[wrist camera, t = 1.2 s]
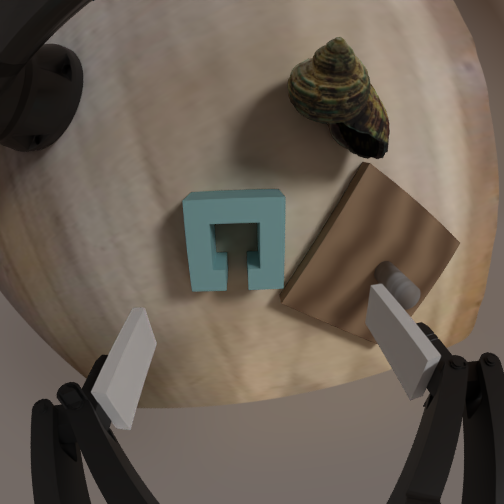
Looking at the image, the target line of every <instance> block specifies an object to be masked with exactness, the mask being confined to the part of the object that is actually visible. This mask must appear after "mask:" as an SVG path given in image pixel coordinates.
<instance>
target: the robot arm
mask: <svg viewBox="0 0 504 504" xmlns="http://www.w3.org/2000/svg"><path fill="white" fill-rule="evenodd" d="M91 1H94V0H0V144H1V145H4V146H6V147H9V148H12V149H14V150H17V151H22V152H28V151H35V150H40V149H43V148H45V147H47V146H49V145H51V144H52V143H53V142H55V141H56V140H57V139H58V138H59V137H60V136H61V135H62V134H63V132H64V131H65V130H66V128H67V127H68V125H69V124H70V122H71V120H72V119H73V117H74V115H75V112H76V110H77V108H78V105H79V102H80V98H81V94H82V88H83V70H82V66H81V63H80V60H79V58H78V57H77V55H76V54H75V53H74V52H73V51H72V50H70V49H68V48H66V47H63V46H61V45H58V44H44V43H45V42H46V41H47V40H48V39H49V38H50V37H51V36H52V35H53V34H54V33H55V32H56V31H57V30H58V29H59V28H61V27H62V26H63V25H64V24H65V23H66V22H67V21H68V20H69V19H70V18H72V17H73V16H74V15H75V14H76V13H77V12H79V11H80V10H81V9H82V8H83V7H85V6H86V5H87V4H88V3H90V2H91ZM365 324H366V325H367V327H368V329H369V330H370V332H371V333H372V335H373V337H374V338H375V340H376V342H377V343H378V345H379V347H380V348H381V350H382V352H383V353H384V355H385V357H386V358H387V360H388V362H389V364H390V365H391V367H392V369H393V371H394V372H395V374H396V376H397V377H398V379H399V381H400V383H401V385H402V386H403V388H404V390H405V392H406V393H407V395H408V397H409V399H410V400H413V399H415V398H418V397H421V396H423V394H424V392H425V390H426V388H427V389H428V391H429V392H430V394H429V396H428V398H427V400H426V402H425V403H424V405H423V407H425V409H424V413H423V416H422V419H421V422H420V425H419V428H418V431H417V434H416V437H415V440H414V443H413V445H412V448H411V451H410V453H409V456H408V458H407V461H406V463H405V466H404V468H403V471H402V473H401V475H400V477H399V479H398V482H397V484H396V486H395V488H394V490H393V492H392V494H391V496H390V498H389V500H388V502H387V504H441V503H440V498H441V495H442V492H443V490H444V487H445V484H446V481H447V478H448V475H449V472H450V468H451V465H452V461H453V458H454V454H455V450H456V446H457V442H458V437H459V432H460V427H461V422H462V417H463V431H464V482H463V494H462V504H504V372H503V368H502V365H501V362H500V360H499V358H498V357H497V356H496V355H495V354H492V353H488V352H487V353H484V354H482V355H481V357H480V359H479V361H472V362H467V361H466V360H465V359H464V358H463V357H461V356H457V355H452V354H451V353H450V352H449V351H448V349H447V348H446V347H445V346H444V344H443V343H442V342H441V341H440V340H439V339H438V337H437V336H436V335H435V334H434V332H433V331H432V330H431V329H430V328H429V327H428V326H427V325H425V324H424V323H422V322H420V323H415V322H414V321H413V319H412V318H411V317H410V316H409V315H408V313H407V312H406V311H405V310H404V309H403V307H402V306H401V305H400V304H399V303H398V302H397V300H396V299H395V298H394V297H393V296H392V295H391V293H390V292H389V291H388V290H387V289H386V288H385V287H384V285H383V284H376V285H371V287H370V294H369V301H368V308H367V314H366V321H365ZM156 345H157V343H156V340H155V337H154V334H153V331H152V328H151V325H150V322H149V319H148V316H147V313H146V310H145V307H139V308H133V309H132V311H131V312H130V314H129V316H128V318H127V320H126V322H125V324H124V326H123V327H122V329H121V331H120V333H119V335H118V337H117V339H116V341H115V343H114V345H113V347H112V349H111V351H110V353H109V355H101V356H100V357H99V358H98V359H97V360H96V362H95V364H94V365H93V367H92V369H91V371H90V373H89V374H90V375H88V377H87V379H86V382H85V383H84V386H83V388H82V389H81V387H80V386H79V385H78V384H77V383H75V382H69V383H66V384H64V385H62V386H61V387H60V388H59V390H58V392H57V398H58V400H59V401H60V403H61V404H62V405H55V406H54V405H53V404H52V402H51V401H50V400H48V399H41V400H39V401H38V402H36V403H35V404H34V406H33V408H32V418H31V473H32V486H33V495H34V503H35V504H91V501H90V497H89V493H88V489H87V484H86V480H85V474H84V469H83V463H82V457H81V452H82V454H83V456H84V459H85V461H86V463H87V465H88V467H89V469H90V472H91V473H92V476H93V478H94V480H95V482H96V484H97V485H98V487H99V489H100V491H101V493H102V495H103V496H104V498H105V500H106V502H107V504H159V502H158V501H157V500H156V498H155V497H154V496H153V495H152V493H151V492H150V490H149V489H148V488H147V486H146V485H145V484H144V482H143V481H142V479H141V478H140V476H139V475H138V473H137V472H136V470H135V469H134V467H133V466H132V464H131V463H130V461H129V459H128V458H127V456H126V454H125V453H124V451H123V449H122V448H121V446H120V444H119V443H118V441H117V439H116V437H115V436H114V434H113V432H112V430H111V429H110V428H109V427H110V424H111V422H112V423H113V424H114V425H115V427H116V428H119V429H126V430H130V429H131V426H132V422H133V418H134V415H135V411H136V408H137V405H138V401H139V398H140V394H141V391H142V388H143V385H144V381H145V378H146V375H147V372H148V369H149V366H150V363H151V360H152V357H153V353H154V350H155V348H156ZM80 449H81V451H80Z"/></svg>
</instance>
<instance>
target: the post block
mask: <svg viewBox="0 0 504 504" xmlns="http://www.w3.org/2000/svg"><path fill="white" fill-rule="evenodd" d="M459 244H460V242H459V241H458V240H457V239H456V238H455V237H454V236H453V235H452V234H451V233H450V232H449V231H448V230H447V229H446V228H445V227H444V226H443V225H442V224H441V223H440V222H439V221H438V220H437V219H436V218H434V217H433V216H432V215H431V214H430V213H429V212H428V211H427V210H426V209H425V208H424V207H422V206H421V205H420V204H419V203H418V202H417V201H416V200H415V199H413V198H412V197H411V196H410V195H409V194H408V193H406V192H405V191H404V190H403V189H402V188H400V187H399V186H398V185H397V184H396V183H394V182H393V181H392V180H391V179H389V178H388V177H387V176H386V175H384V174H383V173H382V172H381V171H379V170H378V169H377V168H375V167H374V166H373V165H371V164H370V163H366V162H363V163H362V164H361V166H360V168H359V169H358V171H357V173H356V175H355V176H354V178H353V180H352V181H351V183H350V185H349V187H348V188H347V190H346V192H345V193H344V195H343V197H342V198H341V200H340V202H339V203H338V205H337V206H336V208H335V210H334V211H333V213H332V215H331V216H330V218H329V220H328V221H327V223H326V224H325V226H324V228H323V229H322V231H321V232H320V234H319V236H318V237H317V239H316V240H315V242H314V243H313V245H312V247H311V248H310V250H309V251H308V253H307V254H306V256H305V258H304V259H303V261H302V262H301V264H300V265H299V267H298V268H297V270H296V271H295V273H294V274H293V276H292V277H291V279H290V280H289V282H288V283H287V285H286V286H285V288H284V289H283V291H282V292H281V294H280V299H281V303H282V304H284V305H286V306H289V307H291V308H293V309H295V310H298V311H300V312H302V313H305V314H307V315H309V316H311V317H314V318H316V319H318V320H321V321H323V322H325V323H328V324H330V325H333V326H335V327H337V328H340V329H342V330H344V331H347V332H349V333H352V334H354V335H357V336H359V337H361V338H364V339H366V340H369V341H371V342H374V343H376V344H378V343H377V342H376V340H375V338H374V337H373V335H372V333H371V332H370V330H369V329H368V327H367V325H366V324H365V321H366V314H367V308H368V301H369V294H370V287H371V285H376V284H383V285H384V287H385V288H386V289H387V290H388V291H389V292H390V293H391V295H392V296H393V297H394V298H395V299H396V300H397V302H398V303H399V304H400V305H401V306H402V307H403V309H404V310H405V311H406V312H407V313H408V315H409V316H410V317H411V316H412V315H413V313H414V312H415V311H416V309H417V308H418V307H419V305H420V304H421V303H422V301H423V300H424V298H425V297H426V296H427V294H428V293H429V291H430V290H431V289H432V287H433V286H434V284H435V283H436V281H437V280H438V278H439V277H440V275H441V274H442V272H443V271H444V269H445V267H446V266H447V264H448V263H449V261H450V260H451V258H452V256H453V255H454V253H455V251H456V250H457V248H458V246H459Z"/></svg>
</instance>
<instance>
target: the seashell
mask: <svg viewBox="0 0 504 504" xmlns="http://www.w3.org/2000/svg"><path fill="white" fill-rule="evenodd" d="M288 90H289V98H290V101H291V103H292V104H293V105H294V107H295V109H296V110H297V111H298V112H299V113H300V114H301V115H303V116H305V117H307V118H309V119H311V120H313V121H315V122H320V123H328V125H329V128H330V132H331V135H332V137H333V138H334V139H335V140H336V141H337V142H338V143H339V145H341V146H343V147H345V148H347V149H348V150H349V151H350V152H352V153H353V154H357V155H358V156H360V157H363V158H367V159H368V158H370V157H373V158H376V159H379V158H383V157H384V155H385V153H386V152H388V139H389V120H388V116H387V113H386V110H385V108H384V106H383V104H382V101H381V100H380V99H379V96H378V95H377V93H376V91H375V89H374V88H373V86H372V85H371V84H370V79H369V76H368V71H367V69H366V67H365V66H364V65H363V64H362V62H361V61H360V60H359V59H358V58H357V57H356V56H355V54H354V52H353V50H352V49H351V47H350V46H349V45H348V44H347V43H346V41H345V40H344V39H343V38H341V37H336V38H335V39H332V40H330V41H329V42H328V43H327V44H326V45H325V46H323V47H321V48H319V49H318V50H317V51H316V52H315V55H314V56H313V58H310V59H307V60H305V61H303V62H302V63H299V64H297V65H296V66H295V67H294V68H293V70H292V72H291V75H290V78H289V80H288Z"/></svg>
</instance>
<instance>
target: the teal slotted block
mask: <svg viewBox="0 0 504 504" xmlns="http://www.w3.org/2000/svg"><path fill="white" fill-rule="evenodd" d="M182 202H183V214H184V225H185V235H186V245H187V254H188V263H189V271H190V279H191V287H192V291H227V279H228V260H227V252H217V253H216V241H215V225H214V224H229V223H257V241H258V251H247V271H248V287H249V290H260V289H282V288H284V255H285V196H284V195H283V194H282V192H281V191H280V190H279V189H253V190H224V191H204V192H191V193H190V194H189V195H188V196H187V197H186V198H185V199H184V200H183V201H182Z"/></svg>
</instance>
